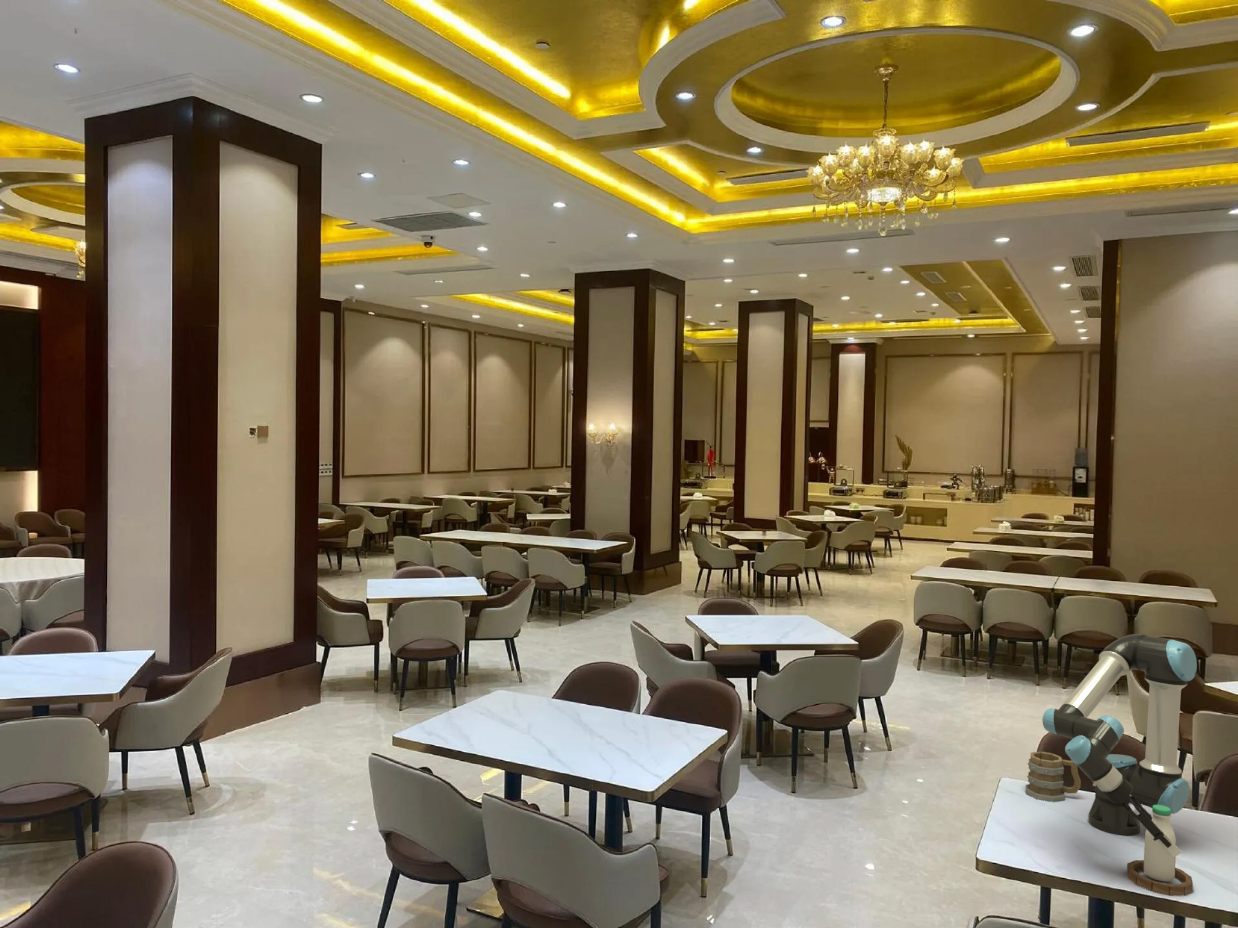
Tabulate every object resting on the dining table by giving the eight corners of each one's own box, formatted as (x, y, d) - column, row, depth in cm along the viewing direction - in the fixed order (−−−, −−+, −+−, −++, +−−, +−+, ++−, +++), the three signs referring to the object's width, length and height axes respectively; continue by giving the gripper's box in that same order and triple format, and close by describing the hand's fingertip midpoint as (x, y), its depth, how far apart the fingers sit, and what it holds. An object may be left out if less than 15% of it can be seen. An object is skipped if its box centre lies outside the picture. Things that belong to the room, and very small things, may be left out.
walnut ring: (1126, 863, 269) (1126, 855, 269) (1189, 876, 261) (1189, 868, 261) (1127, 885, 255) (1128, 877, 255) (1194, 900, 247) (1194, 891, 247)
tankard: (1025, 797, 319) (1027, 755, 319) (1025, 785, 331) (1027, 745, 331) (1088, 808, 311) (1090, 765, 311) (1086, 795, 323) (1087, 754, 322)
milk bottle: (1174, 884, 252) (1177, 814, 252) (1142, 877, 257) (1145, 808, 256) (1174, 874, 259) (1177, 806, 259) (1144, 866, 263) (1146, 799, 263)
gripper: (1095, 779, 272) (1153, 841, 267) (1109, 804, 253) (1172, 871, 248) (1115, 765, 270) (1174, 826, 265) (1131, 788, 251) (1195, 855, 246)
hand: (1173, 848), depth 257 cm, fingers closed on milk bottle, 7 cm apart
